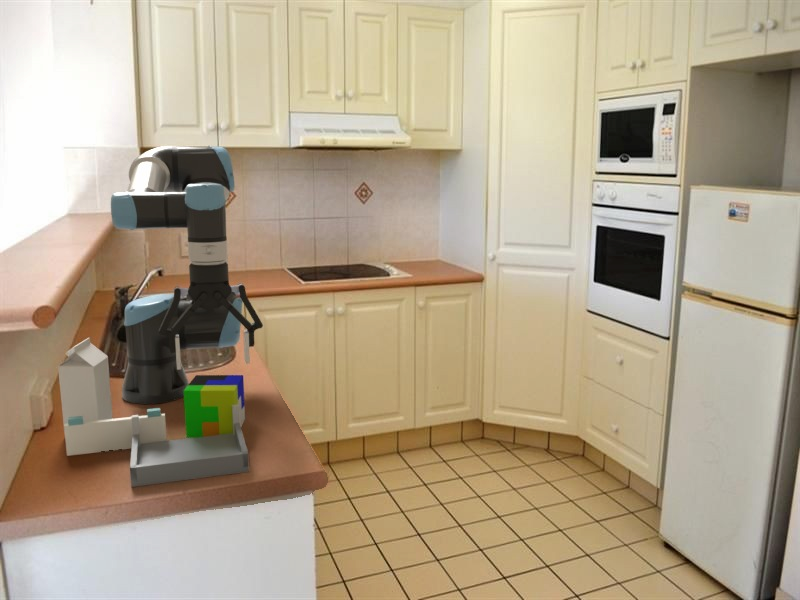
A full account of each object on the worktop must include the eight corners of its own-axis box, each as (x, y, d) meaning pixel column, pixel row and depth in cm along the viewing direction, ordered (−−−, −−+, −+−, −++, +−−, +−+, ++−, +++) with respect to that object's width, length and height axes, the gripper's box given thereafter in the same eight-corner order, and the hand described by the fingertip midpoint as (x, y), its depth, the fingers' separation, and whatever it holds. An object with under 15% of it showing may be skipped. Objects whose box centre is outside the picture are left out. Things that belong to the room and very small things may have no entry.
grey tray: (134, 449, 137) (131, 415, 136) (239, 437, 143) (238, 404, 142) (131, 487, 122) (128, 449, 120) (249, 471, 128) (247, 435, 127)
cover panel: (67, 453, 135) (64, 417, 134) (166, 441, 141) (164, 407, 139) (66, 456, 134) (63, 420, 133) (166, 444, 140) (164, 409, 138)
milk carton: (113, 424, 150) (106, 337, 146) (99, 438, 143) (92, 347, 139) (80, 424, 150) (72, 337, 146) (64, 437, 143) (55, 346, 139)
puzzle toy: (245, 419, 153) (243, 375, 151) (236, 437, 144) (234, 390, 142) (198, 419, 153) (196, 375, 151) (186, 437, 143) (183, 390, 141)
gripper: (141, 267, 134) (148, 375, 138) (274, 262, 141) (277, 364, 146) (142, 262, 141) (149, 365, 145) (268, 257, 148) (272, 354, 153)
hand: (213, 364), depth 145 cm, fingers open, 13 cm apart
